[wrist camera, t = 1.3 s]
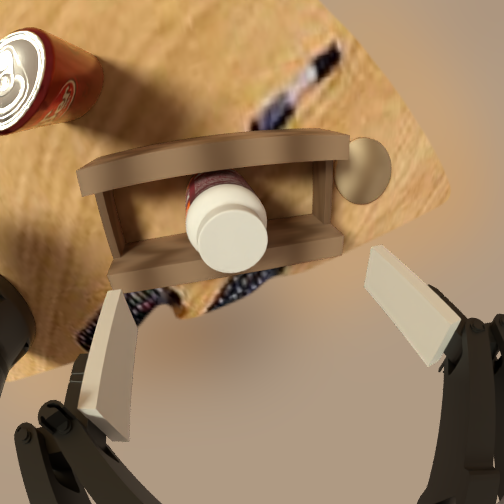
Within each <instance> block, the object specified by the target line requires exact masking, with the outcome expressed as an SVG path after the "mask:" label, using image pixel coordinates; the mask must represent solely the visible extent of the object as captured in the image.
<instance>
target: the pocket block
mask: <svg viewBox="0 0 504 504" xmlns="http://www.w3.org/2000/svg"><path fill="white" fill-rule="evenodd" d="M349 145H350V135H347V134H343V133H338V132H334V131H329V130H325V129H320V128H314V129H280V130H263V131H249V132H238V133H228V134H219V135H211V136H204V137H196V138H190V139H183V140H177V141H171V142H166V143H160V144H155V145H150V146H145V147H140V148H135V149H131V150H127V151H122V152H118V153H114V154H110V155H106V156H102V157H98V158H96V159H95V160H93V161H91V162H90V163H88V164H86V165H85V166H83V167H82V168H80V169H78V170H77V171H76V173H77V178H78V182H79V186H80V190H81V194H82V197H84V196H88V195H92V194H95V197H96V201H97V205H98V209H99V212H100V216H101V220H102V223H103V227H104V230H105V233H106V237H107V240H108V243H109V246H110V250H111V253H112V256H113V261H112V264H111V266H110V269H109V272H108V274H107V277H108V279H109V282H110V284H111V287H112V289H113V290H118V289H121V290H122V292H123V293H130V292H136V291H143V290H149V289H155V288H162V287H168V286H174V285H180V284H186V283H192V282H198V281H204V280H210V279H216V278H222V277H227V276H233V275H239V274H245V273H250V272H256V271H261V270H267V269H272V268H278V267H283V266H289V265H294V264H299V263H305V262H310V261H315V260H320V259H326V258H331V257H336V256H341V255H342V252H343V242H344V235H343V234H342V233H341V232H339V231H338V230H337V229H336V228H335V227H334V226H333V225H332V224H330V223H331V206H332V182H333V160H349ZM306 161H313V210H312V214H308V215H301V216H294V217H286V218H279V219H272V220H267V227H266V230H267V235H268V243H267V248H266V251H265V253H264V255H263V256H262V257H261V259H260V260H259V261H258V262H257V263H256V264H255V265H253V266H252V267H250V268H249V269H247V270H244V271H241V272H237V273H223V272H219V271H216V270H214V269H212V268H211V267H209V266H208V265H207V264H206V263H205V262H204V261H203V259H202V258H201V256H200V253H199V252H198V251H197V250H196V249H195V248H194V247H193V245H192V244H191V242H190V240H189V238H188V235H187V233H183V234H177V235H171V236H165V237H159V238H154V239H148V240H143V241H137V242H132V243H126V242H125V239H124V235H123V232H122V228H121V224H120V221H119V217H118V213H117V209H116V205H115V201H114V196H113V192H112V189H117V188H121V187H126V186H130V185H135V184H140V183H145V182H150V181H155V180H161V179H166V178H172V177H177V176H183V175H190V174H196V173H202V172H209V171H216V170H224V169H232V168H240V167H249V166H258V165H268V164H279V163H291V162H306Z"/></svg>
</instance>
